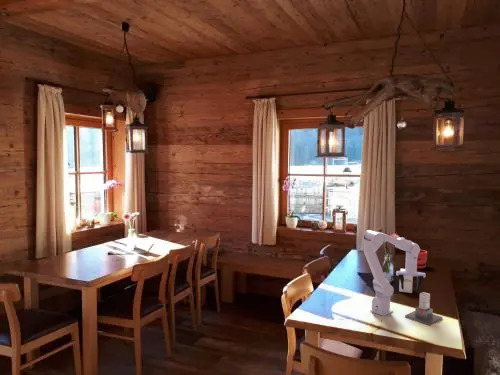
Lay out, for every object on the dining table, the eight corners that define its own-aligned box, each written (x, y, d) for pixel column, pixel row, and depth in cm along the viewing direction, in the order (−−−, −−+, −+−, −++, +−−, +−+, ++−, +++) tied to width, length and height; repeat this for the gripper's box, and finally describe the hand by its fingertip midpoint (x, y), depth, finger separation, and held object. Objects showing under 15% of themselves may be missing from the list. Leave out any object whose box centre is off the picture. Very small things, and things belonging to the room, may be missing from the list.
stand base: (429, 325, 201) (430, 315, 200) (405, 317, 211) (405, 307, 210) (442, 318, 209) (443, 309, 209) (418, 311, 219) (418, 301, 219)
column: (425, 312, 207) (426, 295, 206) (418, 310, 210) (419, 293, 209) (429, 310, 209) (430, 293, 209) (422, 308, 212) (423, 291, 211)
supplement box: (399, 291, 249) (399, 271, 248) (399, 288, 256) (400, 268, 255) (412, 293, 246) (413, 272, 245) (412, 289, 253) (413, 269, 252)
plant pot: (429, 267, 303) (430, 251, 302) (421, 270, 294) (421, 253, 293) (413, 263, 313) (413, 247, 312) (404, 266, 304) (404, 250, 303)
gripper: (398, 265, 219) (397, 290, 220) (427, 267, 216) (425, 292, 217) (396, 262, 226) (395, 286, 227) (424, 263, 223) (423, 288, 224)
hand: (410, 289), depth 223 cm, fingers open, 7 cm apart
